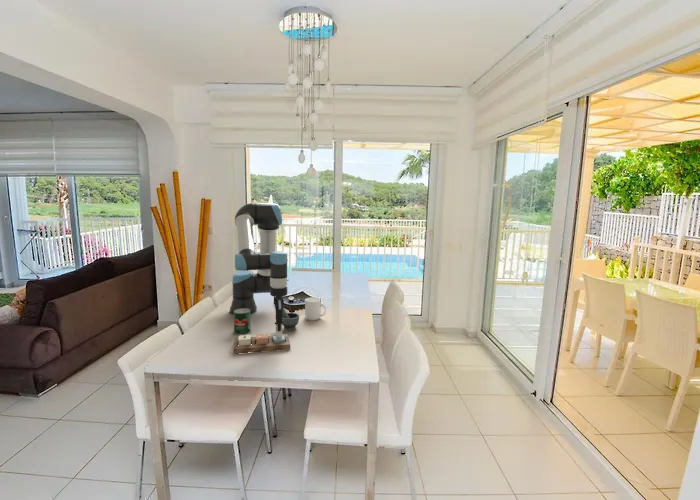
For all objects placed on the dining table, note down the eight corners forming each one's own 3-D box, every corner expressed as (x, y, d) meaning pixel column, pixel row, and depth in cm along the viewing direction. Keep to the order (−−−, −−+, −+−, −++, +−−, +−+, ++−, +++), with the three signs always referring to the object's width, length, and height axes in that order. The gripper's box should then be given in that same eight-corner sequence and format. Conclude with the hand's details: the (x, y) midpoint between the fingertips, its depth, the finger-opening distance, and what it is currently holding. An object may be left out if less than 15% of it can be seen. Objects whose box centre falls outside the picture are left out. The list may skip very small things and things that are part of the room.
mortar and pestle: (301, 326, 185) (301, 304, 183) (295, 332, 176) (296, 309, 174) (281, 324, 187) (281, 302, 185) (274, 330, 178) (274, 307, 176)
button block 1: (238, 346, 153) (238, 339, 153) (239, 341, 158) (238, 335, 157) (250, 345, 154) (250, 338, 154) (250, 341, 159) (250, 334, 159)
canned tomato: (235, 335, 170) (235, 313, 168) (232, 330, 177) (232, 309, 175) (252, 333, 173) (251, 311, 172) (248, 327, 180) (248, 307, 179)
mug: (322, 322, 192) (323, 303, 190) (302, 319, 195) (302, 300, 194) (328, 317, 200) (328, 298, 198) (308, 314, 203) (308, 296, 202)
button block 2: (256, 344, 155) (256, 338, 155) (256, 340, 160) (256, 333, 159) (268, 344, 156) (268, 337, 156) (267, 339, 161) (267, 333, 161)
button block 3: (273, 346, 157) (273, 339, 157) (273, 342, 162) (273, 335, 162) (285, 345, 159) (285, 338, 158) (284, 341, 163) (284, 334, 163)
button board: (233, 354, 149) (233, 349, 149) (234, 343, 161) (234, 338, 161) (290, 349, 156) (290, 344, 156) (287, 339, 167) (287, 334, 167)
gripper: (288, 289, 151) (288, 341, 155) (285, 282, 164) (286, 331, 167) (271, 290, 149) (271, 343, 153) (269, 283, 162) (269, 332, 165)
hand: (279, 336), depth 160 cm, fingers closed
